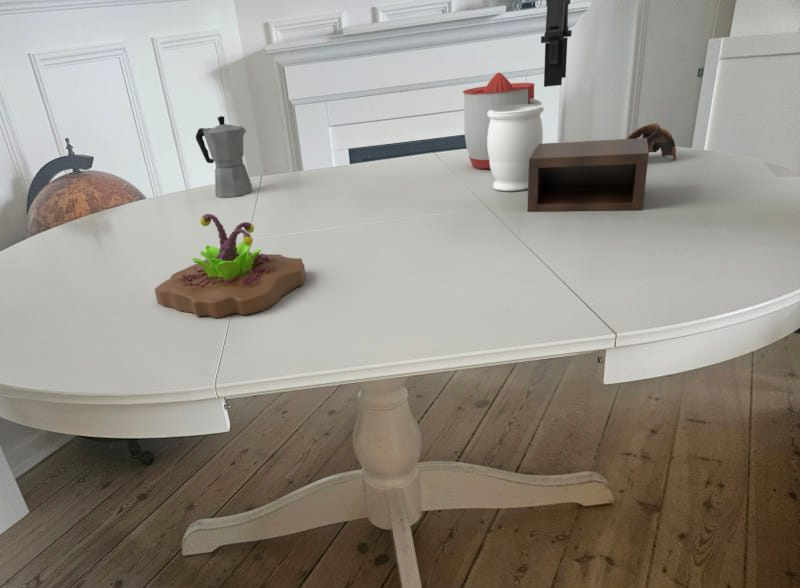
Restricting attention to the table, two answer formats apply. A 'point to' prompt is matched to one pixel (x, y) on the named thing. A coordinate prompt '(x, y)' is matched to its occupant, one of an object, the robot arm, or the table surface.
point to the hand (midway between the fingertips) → (555, 82)
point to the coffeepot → (226, 158)
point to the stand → (588, 175)
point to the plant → (231, 278)
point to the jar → (513, 144)
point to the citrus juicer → (481, 102)
